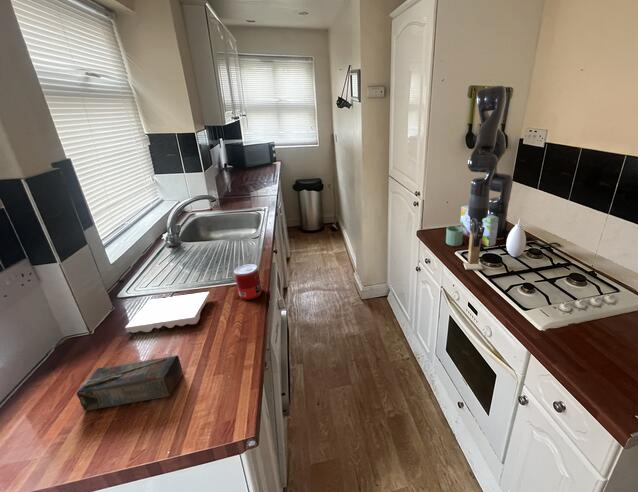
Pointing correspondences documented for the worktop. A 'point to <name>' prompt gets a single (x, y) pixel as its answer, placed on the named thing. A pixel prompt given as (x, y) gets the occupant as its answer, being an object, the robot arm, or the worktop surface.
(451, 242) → the pot
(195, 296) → the food packaging
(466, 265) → the board
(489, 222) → the snack box
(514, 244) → the white teardrop shape
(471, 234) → the peg
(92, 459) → the worktop surface
